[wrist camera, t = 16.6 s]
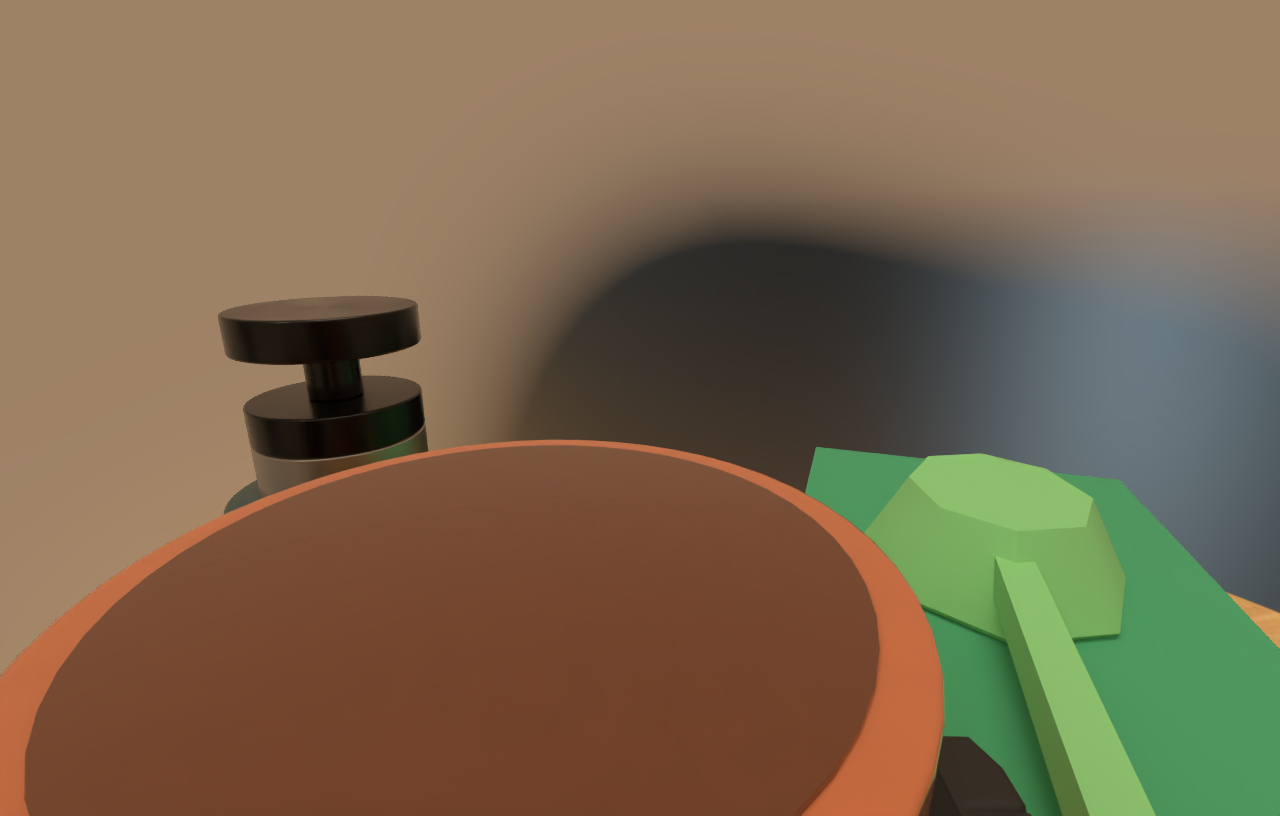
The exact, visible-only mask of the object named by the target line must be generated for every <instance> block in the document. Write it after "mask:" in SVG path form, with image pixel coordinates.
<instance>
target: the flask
mask: <svg viewBox="0 0 1280 816" xmlns="http://www.w3.org/2000/svg"><path fill="white" fill-rule="evenodd" d="M218 321H219V325H220V330H221V335H222V340H223V345H224V350H225V354H226V356H227V357H228V358H230V359H233V360H235V361H240V362H245V363H253V364H269V365H295V364H303V368H304V373H305V379H306V382H301V383H296V384H292V385H287V386H284V387H280V388H277V389H273V390H270V391H267V392H264V393H262V394H260V395H257V396H255V397H253V398H252V399H250V400H249V401H247V402H246V404H245V405H244V408H243V412H244V416H245V422H246V427H247V431H248V437H249V442H250V445H251V452H252V457H253V462H254V467H255V472H256V477H257V480H256V481H254V482H252V483H251V484H249V485H248V486H246V487H244V488H243V489H241V490H240V491H239V492H238V493H237V494H235V495H234V496H233V497H232V498H231V499H230V501H229V502H228V503H227V505H226V507H225V510H224V514H226V513H229V512H231V511H233V510H236V509H238V508H240V507H243V506H245V505H248V504H250V503H252V502H255V501H257V500H259V499H262V498H264V497H267V496H270V495H272V494H275V493H278V492H281V491H283V490H286V489H289V488H292V487H294V486H297V485H300V484H303V483H306V482H309V481H312V480H315V479H319V478H322V477H325V476H328V475H331V474H335V473H338V472H341V471H345V470H348V469H352V468H356V467H360V466H364V465H368V464H372V463H375V462H379V461H384V460H389V459H393V458H398V457H403V456H407V455H412V454H417V453H423V452H428V446H427V435H426V426H425V417H424V408H423V399H422V391H421V387H420V385H419V384H417V383H416V382H414V381H411V380H408V379H403V378H397V377H390V376H362V374H361V367H360V360H359V359H362V358H369V357H375V356H380V355H384V354H389V353H393V352H397V351H400V350H404V349H407V348H409V347H411V346H414V345H415V344H417V343H418V342H419V341H420V340H421V333H420V325H419V324H420V323H419V314H418V305H417V303H416V302H415V301H412V300H409V299H404V298H396V297H380V296H343V297H342V296H341V297H318V298H302V299H290V300H280V301H271V302H264V303H256V304H250V305H244V306H239V307H235V308H231V309H228V310H225V311H222V312H221V313H219V315H218ZM224 514H223V515H224Z"/></svg>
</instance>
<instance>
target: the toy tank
mask: <svg viewBox="0 0 1280 816" xmlns="http://www.w3.org/2000/svg"><path fill="white" fill-rule="evenodd" d="M805 494H807V495H809V496H811V497H812V498H814V499H816V500H818V501H820V502H822V503H823V504H825V505H826V506H828V507H829V508H831V509H832V510H834V511H835V512H837V513H838V514H840V515H841V516H843V517H844V518H846V519H847V520H849V521H850V522H851V523H852V524H853V525H855V526H856V527H857V528H858V529H859V530H861V531H862V532H863V533H864V534H865V535H867V536H868V537H869V538H870V539H871V540H872V541H874V542H875V544H876V545H877V546H878V547H879V548H880V549H881V550H882V551H883V552H884V553H885V554H886V555H887V557H888V558H889V559H890V560H891V561H892V562H893V563H894V564H895V565H896V566H897V568H898V569H899V571H900V572H901V574H902V575H903V576H904V578H905V579H906V581H907V582H908V584H909V585H910V587H911V588H912V590H913V591H914V593H915V594H916V596H917V598H918V600H919V602H920V604H921V606H922V609H923V611H924V613H925V615H926V618H927V620H928V622H929V624H930V626H931V629H932V631H933V634H934V637H935V641H936V645H937V650H938V654H939V658H940V662H941V667H942V671H943V675H944V698H945V728H944V734H943V736H963V737H969V738H970V739H972V740H973V741H974V742H975V743H976V744H977V745H978V746H979V747H980V748H981V749H982V750H983V751H985V752H986V753H987V754H988V755H989V756H990V757H991V758H992V759H993V760H994V761H995V762H996V763H998V764H999V765H1000V766H1001V767H1002V768H1003V770H1004V771H1005V773H1006V774H1007V776H1008V778H1009V779H1010V781H1011V783H1012V784H1013V786H1014V787H1015V789H1016V791H1017V792H1018V794H1019V796H1020V797H1021V799H1022V800H1023V802H1024V804H1025V805H1026V811H1027V813H1031V815H1032V816H1280V649H1279V648H1278V647H1277V646H1276V645H1275V644H1274V643H1273V642H1272V641H1271V640H1270V639H1269V638H1268V637H1267V636H1266V634H1265V633H1264V632H1263V631H1262V630H1261V629H1260V628H1259V627H1258V626H1257V625H1256V624H1255V623H1254V622H1253V621H1252V620H1251V619H1250V617H1249V616H1248V615H1247V614H1246V613H1245V612H1244V611H1243V610H1242V609H1241V608H1240V607H1239V606H1238V605H1237V604H1236V603H1235V602H1234V601H1233V599H1232V598H1231V597H1230V596H1229V595H1228V594H1227V593H1226V592H1225V591H1224V590H1223V589H1222V588H1221V587H1220V586H1219V585H1218V584H1217V582H1216V581H1215V580H1214V579H1213V578H1212V577H1211V576H1210V575H1209V574H1208V573H1207V572H1206V571H1205V570H1204V569H1203V568H1202V567H1201V566H1200V564H1199V563H1198V562H1197V561H1196V560H1195V559H1194V558H1193V557H1192V556H1191V555H1190V554H1189V553H1188V552H1187V551H1186V550H1185V549H1184V548H1183V546H1182V545H1181V544H1180V543H1179V542H1178V541H1177V540H1176V539H1175V538H1174V537H1173V536H1172V535H1171V534H1170V533H1169V532H1168V531H1167V529H1166V528H1165V527H1163V525H1162V524H1161V523H1160V522H1159V521H1158V520H1157V519H1156V518H1155V517H1154V516H1153V515H1152V514H1151V513H1150V512H1149V510H1147V508H1146V507H1145V506H1144V505H1143V504H1142V503H1141V502H1140V501H1139V500H1138V499H1137V498H1136V497H1135V496H1134V495H1133V493H1132V492H1131V491H1129V489H1128V488H1127V487H1126V486H1125V485H1124V484H1123V483H1122V482H1121V481H1120V480H1116V479H1107V478H1096V477H1088V476H1078V475H1070V474H1060V473H1052V472H1050V471H1049V470H1047V469H1044V468H1040V467H1036V466H1032V465H1027V464H1023V463H1019V462H1015V461H1010V460H1006V459H1002V458H998V457H994V456H989V455H985V454H965V455H946V456H929V457H927V458H926V459H921V458H912V457H903V456H894V455H885V454H875V453H866V452H856V451H848V450H838V449H829V448H820V447H816V450H815V454H814V459H813V463H812V467H811V472H810V476H809V480H808V484H807V488H806V492H805Z"/></svg>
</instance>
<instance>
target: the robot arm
mask: <svg viewBox="0 0 1280 816" xmlns="http://www.w3.org/2000/svg"><path fill="white" fill-rule="evenodd" d="M929 816H1032V815H1031V813H1027V811H1026V805H1025V804H1024V802H1023V800H1022V799H1021V797H1020V796H1019V794H1018V792H1017V791H1016V789H1015V787H1014V786H1013V784H1012V783H1011V781H1010V779H1009V778H1008V776H1007V774H1006V773H1005V771H1004V770H1003V768H1002V767H1001V766H1000V765H999V764H998V763H996V762H995V761H994V760H993V759H992V758H991V757H990V756H989V755H988V754H987V753H986V752H985V751H983V750H982V749H981V748H980V747H979V746H978V745H977V744H976V743H975V742H974V741H973V740H972V739H970V738H969V737H963V736H943V740H942V746H941V751H940V757H939V763H938V769H937V774H936V780H935V786H934V792H933V797H932V803H931V809H930V815H929Z"/></svg>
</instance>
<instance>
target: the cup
mask: <svg viewBox="0 0 1280 816" xmlns="http://www.w3.org/2000/svg"><path fill="white" fill-rule="evenodd" d="M944 728H945V698H944V675H943V671H942V667H941V662H940V658H939V654H938V650H937V645H936V641H935V637H934V634H933V631H932V629H931V626H930V624H929V622H928V620H927V618H926V615H925V613H924V611H923V609H922V606H921V604H920V602H919V600H918V598H917V596H916V594H915V593H914V591H913V590H912V588H911V587H910V585H909V584H908V582H907V581H906V579H905V578H904V576H903V575H902V574H901V572H900V571H899V569H898V568H897V566H896V565H895V564H894V563H893V562H892V561H891V560H890V559H889V558H888V557H887V555H886V554H885V553H884V552H883V551H882V550H881V549H880V548H879V547H878V546H877V545H876V544H875V542H874V541H872V540H871V539H870V538H869V537H868V536H867V535H865V534H864V533H863V532H862V531H861V530H859V529H858V528H857V527H856V526H855V525H853V524H852V523H851V522H850V521H849V520H847V519H846V518H844V517H843V516H841V515H840V514H838V513H837V512H835V511H834V510H832V509H831V508H829V507H828V506H826V505H825V504H823V503H822V502H820V501H818V500H816V499H814V498H812V497H811V496H809V495H807V494H805V493H803V492H801V491H799V490H797V489H795V488H794V487H792V486H789V485H787V484H785V483H782V482H780V481H778V480H775V479H773V478H771V477H768V476H766V475H764V474H761V473H758V472H755V471H752V470H749V469H746V468H743V467H740V466H738V465H735V464H731V463H727V462H724V461H720V460H716V459H713V458H709V457H706V456H701V455H696V454H692V453H687V452H682V451H678V450H672V449H666V448H659V447H653V446H646V445H638V444H629V443H619V442H606V441H585V440H534V441H513V442H500V443H489V444H488V443H487V444H478V445H470V446H462V447H454V448H447V449H441V450H435V451H429V452H423V453H417V454H412V455H407V456H403V457H398V458H393V459H389V460H384V461H379V462H375V463H372V464H368V465H364V466H360V467H356V468H352V469H348V470H345V471H341V472H338V473H335V474H331V475H328V476H325V477H322V478H319V479H315V480H312V481H309V482H306V483H303V484H300V485H297V486H294V487H292V488H289V489H286V490H283V491H281V492H278V493H275V494H272V495H270V496H267V497H264V498H262V499H259V500H257V501H255V502H252V503H250V504H248V505H245V506H243V507H240V508H238V509H236V510H233V511H231V512H229V513H226V514H224V515H222V516H220V517H218V518H216V519H214V520H212V521H210V522H208V523H206V524H204V525H201V526H199V527H197V528H195V529H194V530H191V531H189V532H187V533H185V534H183V535H182V536H180V537H178V538H176V539H174V540H173V541H171V542H169V543H167V544H165V545H164V546H162V547H160V548H158V549H157V550H155V551H153V552H151V553H150V554H148V555H146V556H144V557H142V558H141V559H139V560H138V561H136V562H135V563H133V564H132V565H130V566H129V567H127V568H126V569H124V570H123V571H121V572H120V573H118V574H117V575H115V576H114V577H112V578H110V579H109V580H108V581H106V582H104V583H103V584H101V585H100V586H99V587H97V588H96V589H95V590H94V591H92V592H91V593H90V594H88V595H87V596H86V597H85V598H83V599H82V600H81V601H79V602H78V603H77V604H75V605H74V606H73V607H72V608H70V609H69V610H68V611H66V612H65V613H64V614H63V615H61V616H60V617H59V618H58V619H56V620H55V621H54V622H53V623H52V624H51V625H50V626H49V627H48V628H47V629H46V630H45V631H44V632H43V633H41V634H40V635H39V636H38V637H37V638H36V639H35V640H34V641H33V642H32V643H31V644H30V645H29V646H28V647H26V648H25V649H24V650H23V651H22V652H21V653H20V654H19V655H18V656H17V657H16V658H15V659H14V661H13V662H12V663H11V664H10V665H9V666H8V668H7V669H6V670H5V671H4V672H3V673H2V675H1V676H0V816H929V815H930V809H931V803H932V797H933V792H934V786H935V780H936V774H937V769H938V763H939V757H940V751H941V746H942V740H943V734H944Z"/></svg>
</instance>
